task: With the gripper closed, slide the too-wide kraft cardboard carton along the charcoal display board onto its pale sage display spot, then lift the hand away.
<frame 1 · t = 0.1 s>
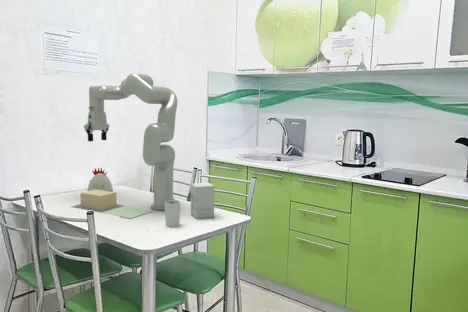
hand: (97, 140, 222), 31 cm above the table, tool pointing down, fingers open, 9 cm apart
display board: (111, 209, 199), on the table
grey domed piece: (100, 193, 235), on the table
drinking glass: (172, 225, 175), on the table
supplement box: (202, 216, 191), on the table
kraft carton: (98, 206, 203), resting on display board
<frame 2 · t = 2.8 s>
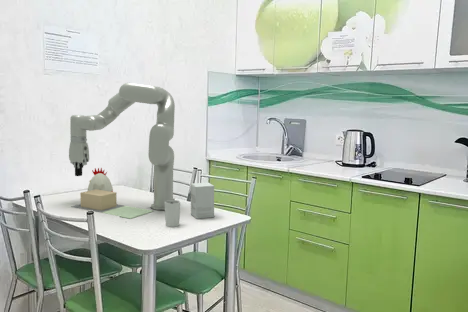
hand: (78, 175, 207), 15 cm above the table, tool pointing down, fingers closed
nothing on the table moved.
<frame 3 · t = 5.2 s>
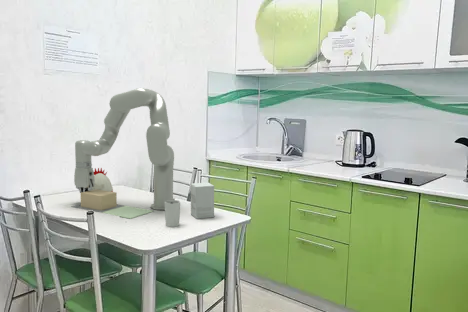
hand: (84, 200, 207), 2 cm above the table, tool pointing down, fingers closed
kraft carton: (98, 206, 202), resting on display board, touching gripper
everything else where it was.
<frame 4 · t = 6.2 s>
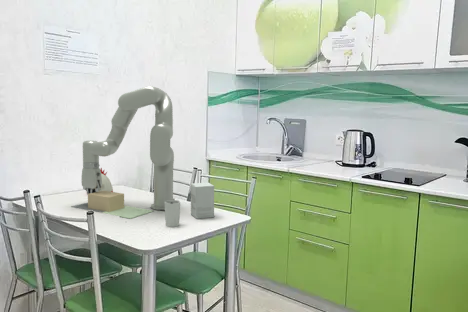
hand: (91, 201, 204), 2 cm above the table, tool pointing down, fingers closed
kraft carton: (106, 207, 200), resting on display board, touching gripper
everything else where it was.
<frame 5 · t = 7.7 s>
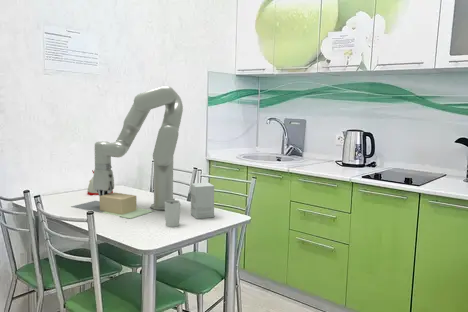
hand: (103, 203, 201), 2 cm above the table, tool pointing down, fingers closed
kraft carton: (118, 210, 196), resting on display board, touching gripper
everything else where it was.
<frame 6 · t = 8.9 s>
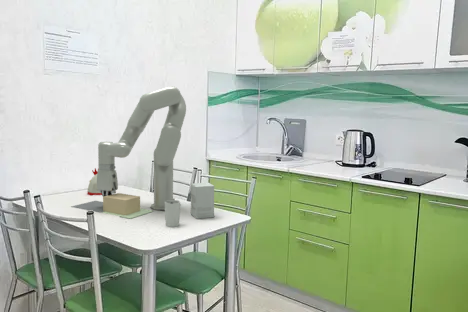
hand: (106, 204, 199), 2 cm above the table, tool pointing down, fingers closed
kraft carton: (121, 210, 195), resting on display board, touching gripper
everything else where it was.
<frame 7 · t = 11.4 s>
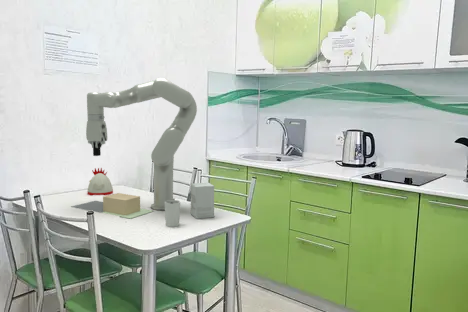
hand: (96, 155, 200), 26 cm above the table, tool pointing down, fingers closed
kraft carton: (121, 210, 195), resting on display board
everything else where it was.
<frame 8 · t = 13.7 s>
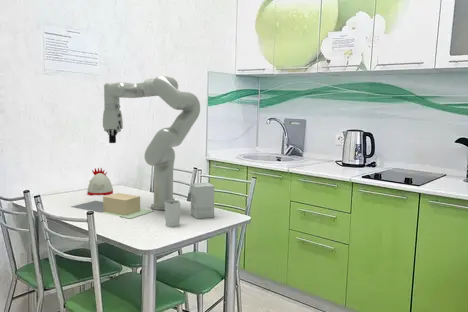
hand: (112, 142, 212), 31 cm above the table, tool pointing down, fingers closed
nothing on the table moved.
at the end: kraft carton inside the target area on the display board (3.2 cm from its centre), point 0.4 cm above the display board's base; kraft carton tilted 0° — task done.
